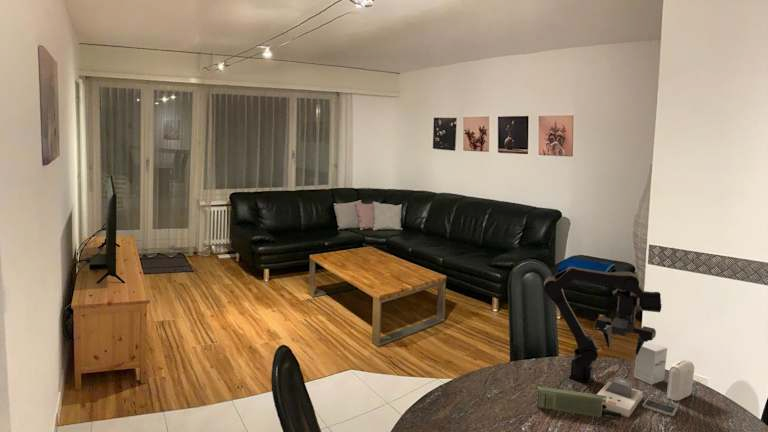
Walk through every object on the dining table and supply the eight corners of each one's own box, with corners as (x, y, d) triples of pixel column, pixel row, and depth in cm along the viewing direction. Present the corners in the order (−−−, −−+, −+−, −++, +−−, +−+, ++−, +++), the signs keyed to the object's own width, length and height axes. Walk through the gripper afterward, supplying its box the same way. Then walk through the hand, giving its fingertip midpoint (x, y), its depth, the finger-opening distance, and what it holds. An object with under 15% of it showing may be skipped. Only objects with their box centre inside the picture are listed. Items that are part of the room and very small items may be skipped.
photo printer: (680, 389, 179) (684, 355, 178) (693, 394, 176) (697, 360, 174) (664, 397, 174) (668, 362, 172) (677, 402, 170) (681, 367, 168)
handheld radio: (536, 403, 168) (619, 416, 162) (536, 409, 165) (621, 421, 158) (538, 384, 167) (621, 396, 160) (538, 389, 164) (623, 402, 157)
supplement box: (652, 385, 182) (655, 351, 180) (633, 377, 188) (636, 344, 187) (664, 381, 186) (668, 347, 184) (645, 372, 192) (648, 340, 190)
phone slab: (673, 416, 161) (673, 414, 161) (642, 406, 167) (642, 404, 167) (676, 410, 165) (677, 407, 165) (646, 401, 171) (646, 398, 171)
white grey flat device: (592, 405, 167) (593, 397, 167) (607, 388, 179) (608, 380, 179) (628, 417, 160) (629, 409, 160) (642, 398, 172) (642, 391, 172)
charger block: (610, 397, 172) (612, 381, 171) (615, 391, 176) (616, 376, 175) (626, 402, 169) (628, 386, 168) (630, 396, 173) (632, 380, 172)
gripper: (591, 308, 179) (587, 350, 181) (649, 320, 167) (645, 366, 169) (601, 300, 187) (598, 341, 190) (658, 312, 175) (653, 356, 178)
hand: (622, 351), depth 181 cm, fingers open, 9 cm apart
